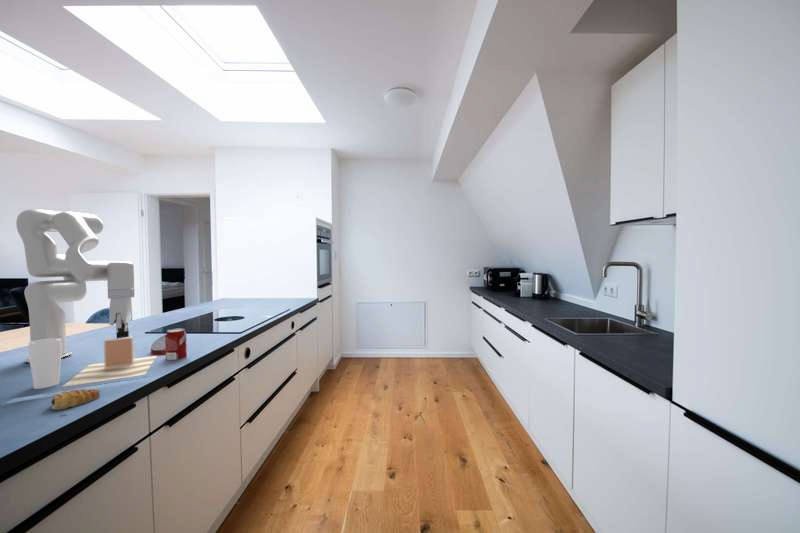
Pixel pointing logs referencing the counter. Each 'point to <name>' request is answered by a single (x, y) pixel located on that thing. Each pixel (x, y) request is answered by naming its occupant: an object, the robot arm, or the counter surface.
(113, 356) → the block
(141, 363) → the board
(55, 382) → the drinking glass
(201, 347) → the counter surface
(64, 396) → the pastry
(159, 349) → the canned food
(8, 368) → the counter surface
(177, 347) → the soda can
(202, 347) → the counter surface
